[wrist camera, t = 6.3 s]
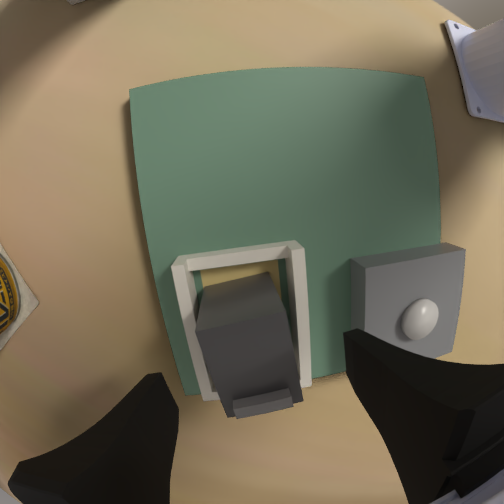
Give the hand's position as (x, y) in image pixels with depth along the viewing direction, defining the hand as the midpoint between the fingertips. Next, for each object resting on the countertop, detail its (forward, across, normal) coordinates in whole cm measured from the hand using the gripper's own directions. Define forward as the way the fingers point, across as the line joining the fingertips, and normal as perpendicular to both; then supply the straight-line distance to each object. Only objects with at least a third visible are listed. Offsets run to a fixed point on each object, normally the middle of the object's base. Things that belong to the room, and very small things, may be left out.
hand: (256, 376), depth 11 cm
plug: (+6, 0, 0) cm, 6 cm away
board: (+6, -4, -4) cm, 8 cm away
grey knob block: (+6, -9, +2) cm, 11 cm away
